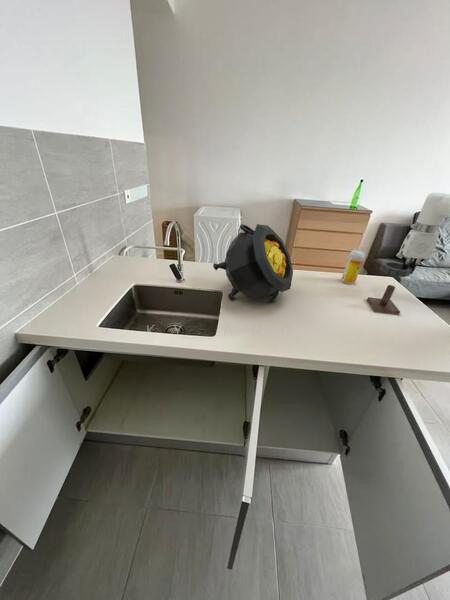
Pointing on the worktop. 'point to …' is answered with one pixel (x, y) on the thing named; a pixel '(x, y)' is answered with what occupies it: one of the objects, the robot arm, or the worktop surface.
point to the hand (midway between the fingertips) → (406, 272)
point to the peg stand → (384, 302)
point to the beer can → (353, 266)
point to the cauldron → (257, 264)
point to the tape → (395, 269)
